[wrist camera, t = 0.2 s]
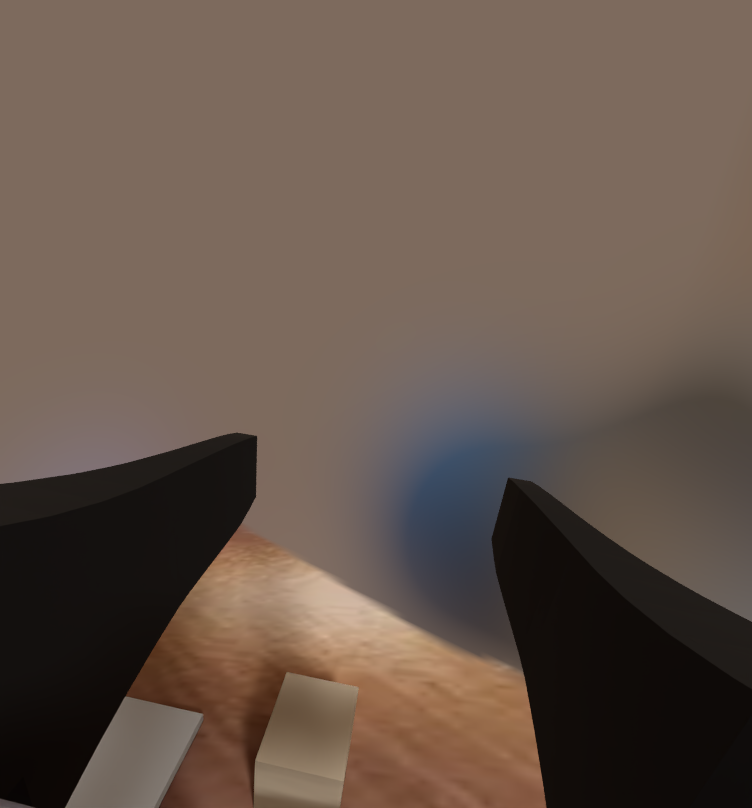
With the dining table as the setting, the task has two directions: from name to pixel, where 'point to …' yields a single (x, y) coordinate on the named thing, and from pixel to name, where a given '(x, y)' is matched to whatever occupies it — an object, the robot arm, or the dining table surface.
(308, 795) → the birch block
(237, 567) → the dining table surface
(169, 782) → the white flat board
